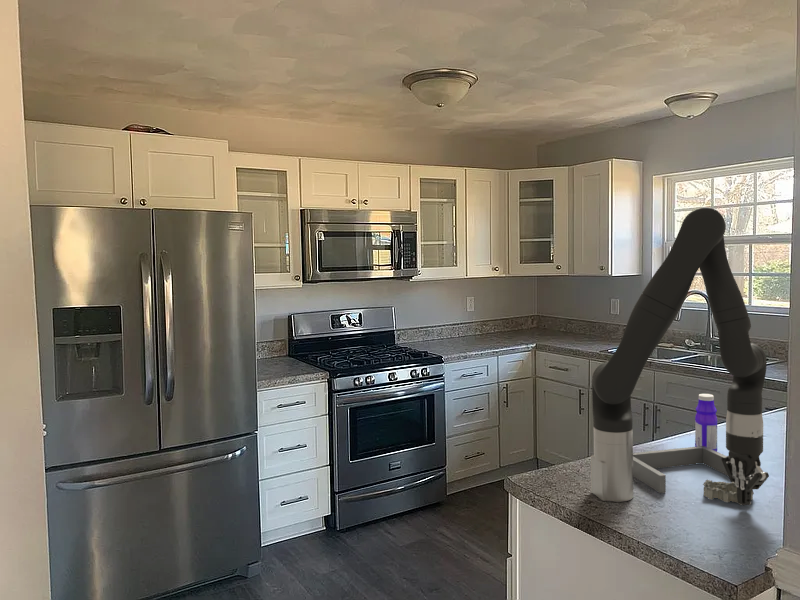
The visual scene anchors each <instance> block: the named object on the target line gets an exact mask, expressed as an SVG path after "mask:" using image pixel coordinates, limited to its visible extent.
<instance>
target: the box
mask: <svg viewBox="0 0 800 600" xmlns="http://www.w3.org/2000/svg"><path fill="white" fill-rule="evenodd" d="M727 456H728V455H724V454H723V453H721V452H718V451H717V452H716V451H714V450H712V449H710V448H707V447H705V446H698V447H695V446H692V447H691V446H690V447H680V448H670V449H661V450H660V449H659V450H650V451H638V452H633V478H635V479H637V480H638V481H640V482H642V483H643V484H645V485H646V484H647V486H648V487H650V489H651V488H652V489H653V490H655V492H657V491H658V492H657V493H659V494H665V492H666V491H667V489H666V487H667V486H666V483H667V482H666V478H667V477H666V474H665V473H662V471H661V472H660V471H659V470H657V469H661V468H662V469H663V468H664V467H665V468H673V467H672V466H675V467H682V466H681V465H684V466H690V465H689V464H694V465H697V464H696V463H704V464H703V465H705V464H706V465H705V466H707V465H708V466H707V467H709V466H710V467H709V468H711V467H712V468H711V469H713V468H714V469H713V470H715V471H717V472H719V473H721V474H723V475H725V476H726V477H729V476H728V474H727V472H726V469H725V467H724V465H723V462H722V460H721V458H722V457H727ZM665 468H664V469H665ZM732 473H733V472H732Z"/></svg>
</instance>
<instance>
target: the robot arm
mask: <svg viewBox="0 0 800 600" xmlns="http://www.w3.org/2000/svg"><path fill="white" fill-rule="evenodd" d="M726 226H727V225H726V220H725V218H724V216H723V215H722V213H721V212H719V211H718V210H717V209H715V208H712V207H709V206H708V207H707V206H705V207H699V208H696V209H693V210H692V211H690V212H689V213H688V214H687V215H685V217H684V219H683V220H682V223H681V226H680V228H679V231H678V233H677V236H675V239H674V242H673V244H672V246H671V248H670V250H669V252H668V254H667V256H666V257H665V259H664V261H663V262H662V263H661V265H660V266H659V267H658V269H657V270H656V271H655V273H654V274H653V275H652V277H651V278H650V280H649V281H648V283H647V285H646V286H645V288H644V289H643V291H642V293H641V294H640V296H639V297H638V299H637V301H636V303H635V304H634V306H633V309H632V310H631V312H630V315H629V317H628V320H627V323H626V326H625V327H624V332H623V335H622V338H621V340H620V342H619V345H618V346H617V347H616V350H615V351H614V352H613V354H612V356H611V357H610V359H608V361H606V362H602V363H600V364H599V365H598V366H597V367H596V368H595V369H594V371H593V373H592V378H591V399H592V401H591V403H592V418H593V419H592V420H593V454H592V455H590V493H592V494H593V495H594V496H596V497H598V499H599V500H601V501H603V502H605V501H608V502H617V503H618V502H621V503H622V502H627V501H630V500H632V499H633V498H634V476H633V453H634V440H633V439H634V438H633V436H634V433H633V432H634V431H633V429H634V426H633V425H634V424H633V422H634V420H633V414H632V400H631V399H632V398H631V397H632V394H633V392H634V390H635V389H636V388H635V387H636V385H637V382H639V378H640V377H641V374H642V372H643V369H644V368H645V366H646V364H647V361H648V360H649V358H650V357H651V355H652V353H653V352H654V351H655V350H656V348H657V346H658V345H659V344H660V342H661V340H662V339H663V338H664V336H665V335H666V333H667V331H668V330H669V328H670V327H671V325H672V323H674V320H675V319H676V317H677V316H678V314H679V312H680V309H681V308H682V306H683V304H684V302H685V300H686V298H687V296H688V294H689V291H690V289H691V287H692V284H693V281H694V279H695V276H696V274H697V272H698V270H699V271H700V274H701V276H702V280H703V284H704V288H705V292H706V296H707V300H708V304H709V307H710V311H711V313H712V316H713V320H714V323H715V326H716V330H717V333H718V345H719V351H720V352H719V354H720V358H721V362H722V364H723V367H724V368H725V370H726V371H727V372H728V373H729V374H730V375H732V383H731V385H730V386H729V387H728V389H727V393H726V394H727V396H726V398H727V399H726V400H727V401H726V402H727V403H726V405H727V409H726V419H725V448H726V450H727V451H728V455H726V456H727V457H722V458H721V460H722V462H723V465H724V467H725V469H726V472H727V474H728V476H727V477H728V478H729V481H730V483H732V482H734V483H735V486H736V487H737V500H738V503H737V504H739V503H740V504H741V505H740V506H750V505H751V504H752V500H751V490H753V491H754V490H759V489H760V488H761V487H762V486H763V484H764V483H766V481H767V480H768V478H770V477H769V476H770V475H769V473H768V472H767V471H764V470H763V469H762V468H761V466H762V463H761V460H760V456H761V455H762V453H763V452H764V419H763V418H764V417H763V395H762V394H763V388H764V385H765V379H766V373H767V368H768V367H767V356H766V353H765V351H764V350H763V348H762V347H761V346H759V344H756V343H751V338H750V334H749V331H750V330H751V328H752V325H751V319H750V317H749V312H748V309H747V306H746V303H745V301H744V298H743V295H742V292H741V290H740V288H739V286H738V283H737V282H736V279H735V277H734V274H733V272H732V270H731V266H730V263H729V259H728V256H727V253H726V252H727V251H726V245H725V234H726V233H725V232H726ZM732 472H733V473H732ZM750 503H751V504H750ZM749 504H750V505H749Z"/></svg>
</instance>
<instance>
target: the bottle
mask: <svg viewBox="0 0 800 600" xmlns="http://www.w3.org/2000/svg"><path fill="white" fill-rule="evenodd" d="M697 402H698V403H697V406H696V407H695V411H696V413H695V417H694V420H695V421H694V425H695V427H694V429H695V430H694V431H695V435H694V437H695V439H694V442H695V443H694V447H698V446H705V447H707V448H710V449H712V450H714V451H716V452H718V423H719V422H718V417H717V414H716V413H717V411H718V410H717V408H716V406H715V396H714V395H713V394H711V393H699V394H698V401H697Z"/></svg>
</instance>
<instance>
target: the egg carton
mask: <svg viewBox="0 0 800 600" xmlns="http://www.w3.org/2000/svg"><path fill="white" fill-rule="evenodd" d="M702 485H703V497H705V496H706V497H705V498H707V497H708V498H709V499H708V498H707V499H708V500H714V499H713V498H718V499H717V500H721V501H722V502H723V501H724V503H730V501H732V503H734V502H735V503H737V504H739V505H740V506H742V505H741V504H740V503H738V500H737V487H736V486H735V483H734V482H725V481H713V480H710V479H706V480H705V481H704V482H703V484H702ZM753 495H754V489H753V490H751V501H752V500H753V499H754V498H753V497H754V496H753ZM751 504H752V502H751V503H750V504H749V505H748V506H750V505H751Z"/></svg>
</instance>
